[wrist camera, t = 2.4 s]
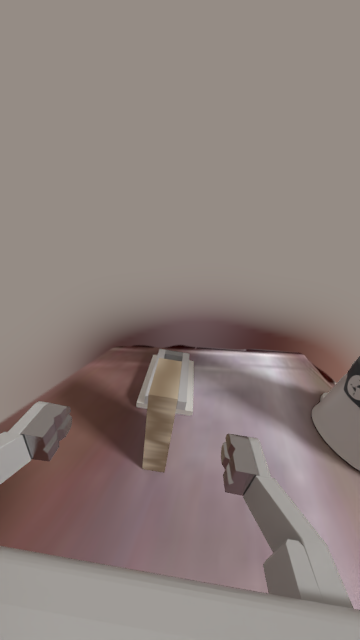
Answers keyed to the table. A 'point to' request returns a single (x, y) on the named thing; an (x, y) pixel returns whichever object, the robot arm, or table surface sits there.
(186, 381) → the floor track
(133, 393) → the table surface
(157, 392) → the tan wooden block
